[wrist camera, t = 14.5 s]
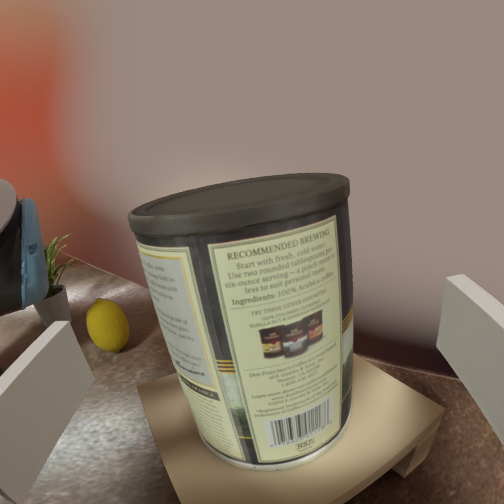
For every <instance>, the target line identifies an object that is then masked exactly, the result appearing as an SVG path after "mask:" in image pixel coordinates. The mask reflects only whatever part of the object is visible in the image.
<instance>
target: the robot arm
mask: <svg viewBox="0 0 504 504" xmlns="http://www.w3.org/2000/svg"><path fill="white" fill-rule="evenodd" d="M48 289H49V280H48V272H47V266H46V259H45V253H44V247H43V241H42V235H41V229H40V223H39V218H38V212H37V208H36V204H35V202H34V200H33V199H26V198H23V199H21V201H18V198H17V196H16V193H15V191H14V188H13V186H12V185H11V184H10V183H9V182H7V181H5V180H3V179H0V316H3V315H6V314H9V313H12V312H15V311H19V310H24V309H25V308H26V307H27V306H30V305H32V304H35V303H37V302H40V301H42V300H43V299H44V298H45V297H46V295H47V293H48ZM436 346H437V348H438V349H439V350H440V352H441V353H442V354H443V356H444V357H445V359H446V360H447V361H448V363H449V364H450V365H451V367H452V368H453V370H454V371H455V373H456V374H457V375H458V377H459V378H460V380H461V381H462V383H463V384H464V385H465V387H466V388H467V390H468V391H469V393H470V394H471V396H472V397H473V399H474V400H475V402H476V403H477V405H478V406H479V408H480V409H481V411H482V412H483V414H484V415H485V417H486V418H487V420H488V422H489V423H490V425H491V426H492V428H493V430H494V431H495V433H496V434H497V436H498V438H499V439H500V441H501V443H502V444H503V446H504V306H503V305H502V304H501V303H500V302H499V301H497V300H496V299H495V298H494V297H492V296H491V295H490V294H489V293H487V292H486V291H485V290H483V289H482V288H481V287H479V286H478V285H477V284H476V283H474V282H473V281H472V280H471V279H469V278H468V277H467V276H465V275H464V274H460V275H456V276H451V277H446V278H445V288H444V298H443V306H442V313H441V320H440V327H439V333H438V339H437V344H436ZM94 381H95V378H94V376H93V374H92V372H91V370H90V367H89V365H88V363H87V361H86V359H85V357H84V355H83V352H82V350H81V348H80V346H79V343H78V341H77V339H76V336H75V334H74V332H73V329H72V327H71V324H70V322H69V321H55V322H54V323H52V324H51V325H50V326H49V327H48V328H47V329H46V330H45V331H44V332H43V333H42V334H41V335H40V336H39V337H38V338H37V339H36V340H35V341H34V342H33V343H32V344H31V345H30V346H29V347H28V348H27V349H26V350H25V351H24V352H23V353H22V354H21V355H20V356H19V358H18V359H17V360H16V361H15V362H14V363H13V364H12V365H11V366H10V367H9V368H8V369H7V370H6V371H5V372H4V373H3V371H2V369H1V367H0V495H2V496H3V497H4V498H5V499H6V500H8V501H10V502H12V503H14V504H23V502H24V500H25V499H26V497H27V495H28V493H29V491H30V489H31V487H32V485H33V484H34V482H35V480H36V478H37V476H38V475H39V473H40V471H41V469H42V467H43V466H44V464H45V462H46V460H47V458H48V457H49V455H50V453H51V452H52V450H53V448H54V446H55V445H56V443H57V441H58V440H59V438H60V436H61V434H62V433H63V431H64V429H65V428H66V426H67V424H68V423H69V421H70V420H71V418H72V416H73V415H74V413H75V411H76V410H77V408H78V406H79V405H80V403H81V402H82V400H83V398H84V397H85V395H86V394H87V392H88V391H89V389H90V387H91V386H92V384H93V383H94Z"/></svg>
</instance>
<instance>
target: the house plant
mask: <svg viewBox="0 0 504 504" xmlns="http://www.w3.org/2000/svg"><path fill="white" fill-rule="evenodd" d="M69 235H70V234H69ZM66 236H68V235H66ZM66 236H64V237H66ZM57 237H58V236H57ZM57 237H56V238H55V239H54V240H53V241H52V242H51V244H50V246H49V247H48V248H49V249H48V248H46V249H45V250H44V253H45V259H46V266H47V272H48V280H49V289H48V293H47V295H46V297H45V298H44V299H43V300H42V301H40V302H37V303H35V304H33V305H34V307H35V309H36V310H37V312H38V314H39V316H40V317H41V319H42V321H43V322H44V324H45V326H46V327H47V328H48V327H49V326H50V325H51V324H52V323H54V322H55V321H69V322H70V323H71V322H72V317H71V313H70V308H69V303H68V298H67V293H66V287H65V286H64V285H60V284H59V285H57V284H58V282H57V284H56V285H53V283H54V282H53V281H55V279H56V277H57V276H58V273H57V271H58V270H59V269H60V268H61V267H63V266H65V267H66V266H67V264H68V263H69V262H70V261H72V260H70V261H69V262H68V263H67V264H65V265H61V266H59V267H58V268H57V269H56V270H55V272H54V274H53V271H54V269H55V267H56V266H54V265H53V264H54V263H55V261H54V260H56V257H57V254H58V253H59V251H60V250H61V249H62V248H63V247H64V246H63V247H61V248H60V249H59V251H58V252H57V254H56V257H55V259H54V260H53V261H52V257H53V254H54V251H55V249H56V247H57V245H58V244H59V242H60V241H61V240H62V239H63V238H64V237H63V238H61V239H60V240H59V241H58V243H57V244H56V243H55V240H56V239H57ZM55 244H56V246H55ZM54 246H55V248H54ZM65 246H67V245H65ZM47 249H48V252H47ZM53 249H54V250H53ZM73 260H74V259H73ZM51 261H52V262H51ZM69 266H72V265H69ZM65 267H64V269H65ZM64 269H63V270H64ZM63 270H62V272H63ZM62 272H61V274H62ZM56 273H57V274H56ZM60 276H61V275H60ZM59 279H60V277H59ZM59 279H58V281H59Z"/></svg>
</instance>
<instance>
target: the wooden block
mask: <svg viewBox="0 0 504 504" xmlns="http://www.w3.org/2000/svg"><path fill="white" fill-rule="evenodd" d="M352 373H353V374H352V394H351V402H352V414H351V418H350V422H349V425H348V427H347V429H346V430H345V432H344V434H343V436H342V437H341V438H340V440H339V441H338V442H337V443H336V444H335V445H334V446H333V447H332V448H330V449H329V450H328V451H327V452H325V453H324V454H323V455H321V456H319V457H318V458H316V459H314V460H312V461H310V462H308V463H305V464H302V465H300V466H296V467H292V468H288V469H283V470H280V471H255V470H250V469H244V468H240V467H237V466H235V465H232V464H230V463H228V462H226V461H224V460H222V459H220V458H218V457H217V456H216V455H215V454H214V453H213V452H211V451H210V450H209V449H208V448H207V446H206V445H205V444H204V442H203V441H202V439H201V437H200V434H199V432H198V428H197V425H196V422H195V419H194V417H193V414H192V412H191V410H190V407H189V405H188V402H187V399H186V397H185V394H184V392H183V389H182V386H181V384H180V381H179V378H178V376H177V373H173V374H170V375H168V376H165V377H162V378H159V379H156V380H153V381H150V382H147V383H144V384H141V385H138V386H137V388H138V392H139V395H140V398H141V401H142V405H143V408H144V411H145V414H146V417H147V420H148V423H149V425H150V428H151V431H152V434H153V437H154V439H155V442H156V445H157V448H158V450H159V453H160V455H161V458H162V460H163V463H164V465H165V468H166V470H167V473H168V475H169V478H170V480H171V482H172V485H173V487H174V489H175V491H176V494H177V496H178V498H179V500H180V502H181V504H344V503H345V502H347V501H348V500H350V499H351V498H353V497H354V496H355V495H357V494H358V493H360V492H361V491H362V490H364V489H365V488H366V487H368V486H369V485H370V484H372V483H373V482H374V481H376V480H377V479H378V478H380V477H381V476H382V475H383V474H385V473H386V472H387V471H388V470H390V469H392V470H394V471H395V472H396V473H397V474H399V475H400V476H401V477H403V478H405V477H406V476H407V475H408V474H410V473H411V472H412V471H413V470H414V469H415V468H416V467H417V466H418V465H419V464H420V463H421V462H423V461H424V460H425V459H426V457H427V454H428V452H429V450H430V447H431V445H432V443H433V440H434V438H435V435H436V433H437V430H438V427H439V425H440V422H441V419H442V416H443V414H444V411H445V408H444V407H442V406H440V405H439V404H437V403H435V402H434V401H432V400H430V399H429V398H427V397H425V396H423V395H422V394H420V393H418V392H417V391H415V390H413V389H412V388H410V387H408V386H407V385H405V384H403V383H402V382H400V381H398V380H397V379H395V378H393V377H392V376H390V375H388V374H387V373H385V372H384V371H382V370H380V369H379V368H377V367H375V366H374V365H372V364H370V363H369V362H367V361H366V360H364V359H362V358H361V357H359V356H358V355H356V354H354V353H353V371H352Z"/></svg>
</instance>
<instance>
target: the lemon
mask: <svg viewBox="0 0 504 504" xmlns="http://www.w3.org/2000/svg"><path fill="white" fill-rule="evenodd" d="M86 322H87V328H88V332H89V335H90V337H91V339H92V340H93V342H94V343H95V344H96V345H97V346H98V347H99V348H100V349H102V350H104V351H109V352H116V353H118V352H119V351H120V350H121V348H123V347H124V346H125V344H126V343H127V341H128V338H129V325H128V321H127V318H126V316H125V314H124V313H123V311H122V309H121V308H120V307H119V306H118V305H117V304H116V303H114V302H112V301H110V300H102V299H101V298H98V299H96V301H95V302H94V303H93V304H92V305H91V306H90V308H89V309H88V312H87V316H86Z"/></svg>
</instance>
